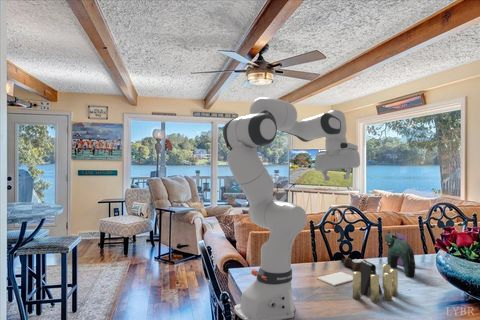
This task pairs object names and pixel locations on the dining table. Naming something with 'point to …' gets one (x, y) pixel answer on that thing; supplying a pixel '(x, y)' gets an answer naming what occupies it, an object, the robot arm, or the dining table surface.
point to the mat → (336, 278)
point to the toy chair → (404, 239)
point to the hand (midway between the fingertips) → (336, 180)
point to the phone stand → (367, 277)
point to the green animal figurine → (400, 253)
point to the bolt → (351, 264)
